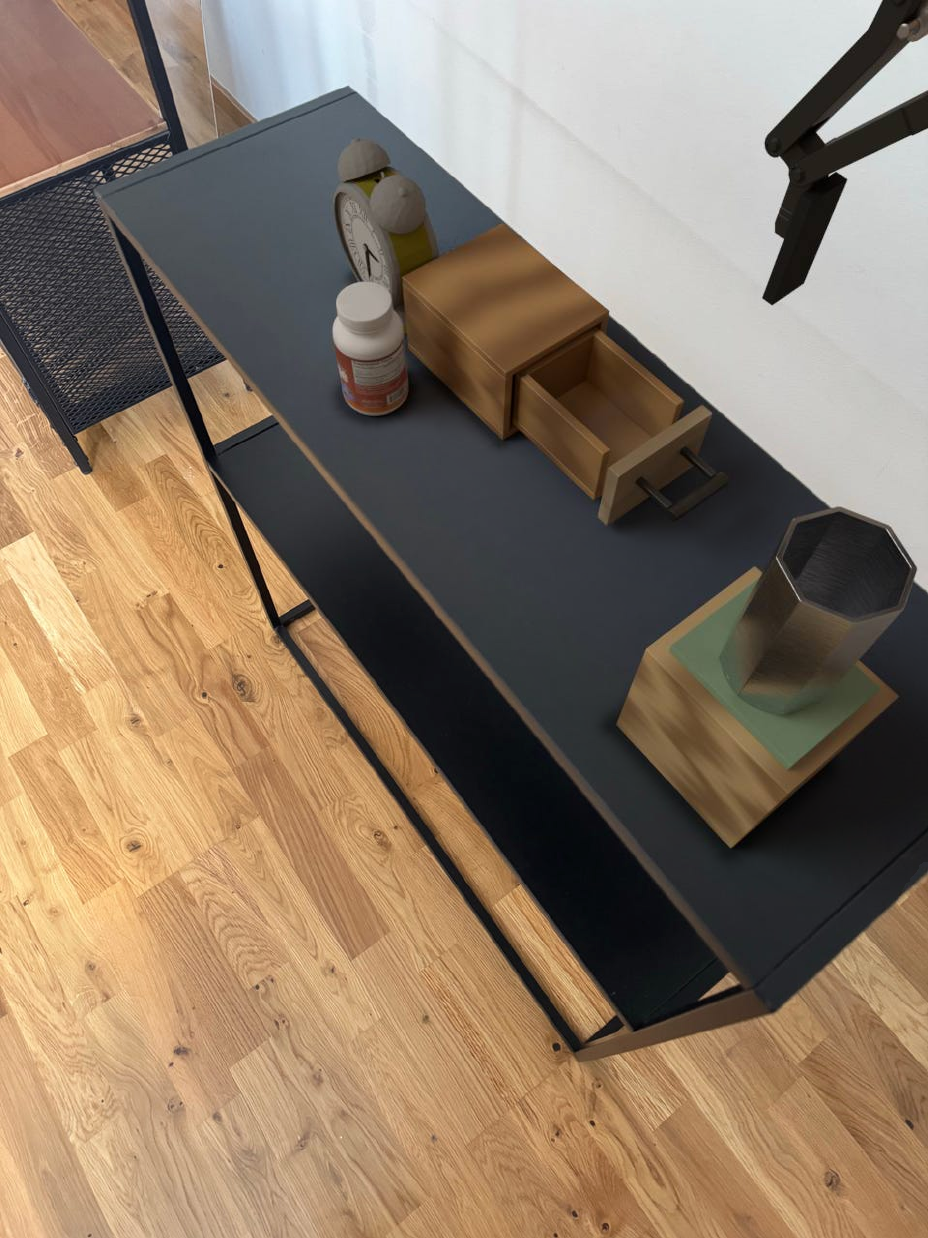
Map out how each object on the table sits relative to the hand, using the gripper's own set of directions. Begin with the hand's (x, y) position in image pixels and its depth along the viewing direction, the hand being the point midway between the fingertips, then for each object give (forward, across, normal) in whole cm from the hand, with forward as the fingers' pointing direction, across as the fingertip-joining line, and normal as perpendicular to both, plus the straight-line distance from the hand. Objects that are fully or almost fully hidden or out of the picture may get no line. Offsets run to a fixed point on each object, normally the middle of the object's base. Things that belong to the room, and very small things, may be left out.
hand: (880, 360), depth 47 cm
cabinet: (+28, +33, -3) cm, 43 cm away
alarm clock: (+28, +46, -1) cm, 54 cm away
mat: (+15, -7, +10) cm, 19 cm away
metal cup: (+14, -7, +10) cm, 18 cm away
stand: (+28, -7, +10) cm, 30 cm away
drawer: (+27, +17, -2) cm, 32 cm away
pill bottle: (+28, +38, +8) cm, 48 cm away
